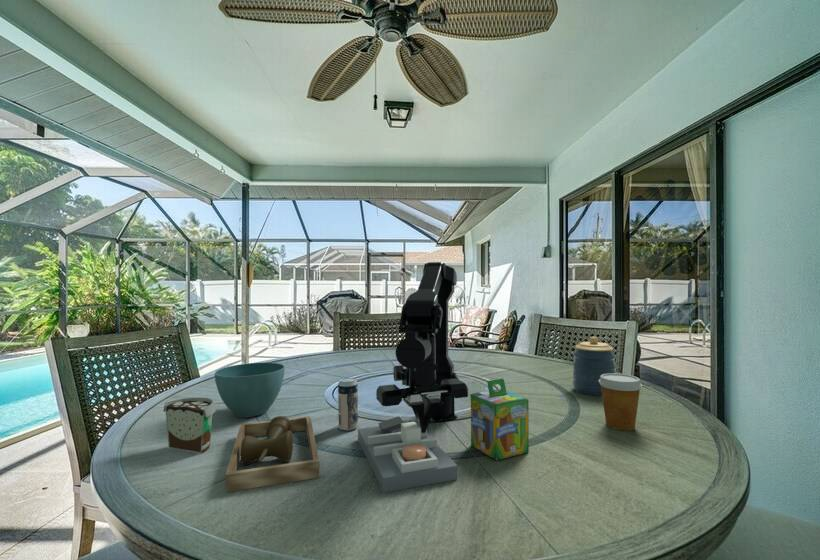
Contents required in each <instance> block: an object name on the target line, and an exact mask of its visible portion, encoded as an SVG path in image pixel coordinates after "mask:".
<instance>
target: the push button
mask: <svg viewBox="0 0 820 560" xmlns="http://www.w3.org/2000/svg"><path fill="white" fill-rule="evenodd" d="M402 456H403V460H404V461H405V462H408V461H415V460H421V459H426V448H425V447H424V446H422V445H419V444H410V445H406V446H404V447H403V449H402Z"/></svg>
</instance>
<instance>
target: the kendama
mask: <svg viewBox="0 0 820 560" xmlns="http://www.w3.org/2000/svg"><path fill="white" fill-rule="evenodd" d="M289 419H290V418H288V417H286V416H283V415H278V416H275V417H273V418H271V420H270V421H271V422H270V423H269V427H268V428H267V431H266V435H265V436H266V438H267V439H261V438H257V437H256V436H255V437H252V436H249V435H247V436H245V437H244V439H243V441H242V444H241V456H240V460H241V465H244V466H247V465H249V464H251V463H253V462H255V461H257V460H258V462H259V463H261V462H262V461H264V459H265V458H269V457H274V458H277V459H280V460H282V461H284V462H285V463H291V460H292V457H293V451H294V438H293V432H291V422H290V420H289Z"/></svg>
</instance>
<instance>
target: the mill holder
mask: <svg viewBox="0 0 820 560" xmlns="http://www.w3.org/2000/svg"><path fill="white" fill-rule="evenodd" d="M288 419H289V420H290V422H291V432H292V431H296V432H302V430H304V431H306V430H307V431H306V434H307V435H306V436H307V442H308V448H309V456H310V459H309V460H304V461H296V462H287V463H283V464H282V463H281V464H274V465H269V466H261V467H260V466H259V467H256V468H254V467H253V468H248V469H240V470H238V469H239V468H238V467H239V464H240V460H241V444H242V441H243V439H244V437H245V436H247V435H249V436H252V437H255V438H256V437H262V436H267V435H266V431H267V428H268V427H269V423H270V422H271V420H264V421H256V422H255V421H254V422H249V423H248V422H247V423H240V425H239V428H238V432H237V435H236V438H235V442H234V444H233V445H234V446H233V448H232V452H231V455H230V458H229V459H230V460H229V462H228V465H227V469H226V472H225V493H229V492H235V491H242V490H243V491H244V490H248V489H255V488H260V487H261V488H262V487H267V486H273V485H280V484H281V485H282V484H286V483H294V482H298V481H306V480H311V479H317V478H320V458H319V457H320V456H319V454H318V450H317V449H318V448H317V443H316V438H315V437H316V436H315V433H314V428H313V423H312V419H311V416H310V415H309V416H301V417H300V416H299V417H292V418H288ZM292 433H293V432H292Z"/></svg>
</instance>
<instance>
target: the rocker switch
mask: <svg viewBox="0 0 820 560" xmlns="http://www.w3.org/2000/svg"><path fill="white" fill-rule="evenodd" d="M401 423H405V422H404V420H403V419H402V418H401V417H400V415H399V416H395V417H392V418H389V419H386V420H384V421H381V422H378V426H379V428H380V429H381V431H382V432H383V434H384V433H387V432H390V431H393V430H396V429H399V428H401Z"/></svg>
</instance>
